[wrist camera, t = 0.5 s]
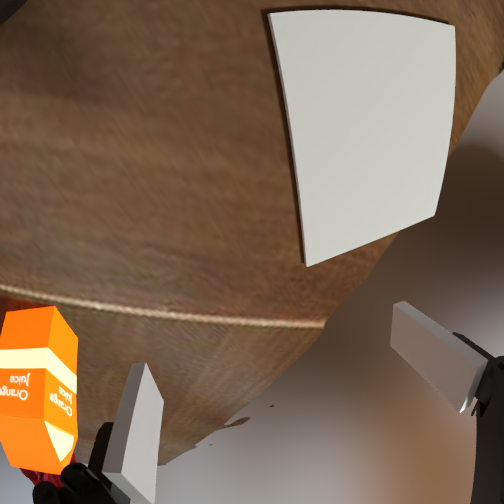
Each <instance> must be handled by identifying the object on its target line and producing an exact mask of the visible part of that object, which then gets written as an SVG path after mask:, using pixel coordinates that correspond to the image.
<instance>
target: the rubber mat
mask: <svg viewBox="0 0 504 504" xmlns="http://www.w3.org/2000/svg"><path fill="white" fill-rule="evenodd" d="M267 15H268V20H269V24H270V29H271V34H272V38H273V43H274V48H275V53H276V58H277V63H278V69H279V74H280V80H281V85H282V91H283V97H284V102H285V108H286V115H287V121H288V127H289V134H290V141H291V147H292V155H293V162H294V169H295V177H296V185H297V193H298V201H299V210H300V219H301V229H302V239H303V249H304V260H305V265H306V267H308V266H311V265H313V264H316V263H319V262H321V261H324V260H326V259H329V258H332V257H334V256H337V255H339V254H342V253H344V252H347V251H349V250H352V249H355V248H357V247H360V246H362V245H365V244H367V243H370V242H372V241H374V240H377V239H379V238H382V237H384V236H387V235H389V234H392V233H394V232H396V231H399V230H401V229H404V228H406V227H408V226H411V225H413V224H415V223H418V222H420V221H422V220H425V219H427V218H429V217H432V216H434V214H435V211H436V207H437V203H438V199H439V194H440V190H441V186H442V180H443V176H444V171H445V166H446V161H447V155H448V149H449V142H450V135H451V127H452V118H453V108H454V95H455V73H456V49H455V27H454V26H451V25H447V24H443V23H439V22H435V21H430V20H426V19H421V18H415V17H410V16H403V15H397V14H389V13H380V12H369V11H353V10H306V11H290V12H279V13H270V14H267Z"/></svg>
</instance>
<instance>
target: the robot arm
mask: <svg viewBox="0 0 504 504" xmlns="http://www.w3.org/2000/svg"><path fill="white" fill-rule="evenodd" d="M26 1H27V0H0V25H1V24H2V23H3V22H5V21H6V20H7V19H8V18H9V17H10V16H11V15H13V14H14V13H15V12H16V11H17V10H18V9H19V8H20V7H21V6H22V5H23V4H24V3H25V2H26ZM390 346H391V347H392V348H393V349H395V350H396V351H397V352H398V353H399V354H400V355H401V356H402V357H403V358H404V359H405V360H406V361H407V362H408V363H409V364H410V365H411V366H412V367H413V368H414V369H415V370H416V371H417V372H419V374H420V375H421V376H422V377H424V378H425V379H426V380H427V381H428V382H429V383H430V384H431V385H432V386H433V387H434V388H435V389H436V390H437V391H438V392H439V393H440V394H441V395H442V396H443V397H444V398H445V399H446V400H447V401H448V402H449V403H450V404H451V405H452V406H453V407H454V408H455V409H456V410H457V411H458V412H459V413H460V412H462V411H463V410H465V409H466V408H467V407H469V406H470V405H471V402H472V400H473V398H474V396H475V397H476V398H477V399H478V400H477V403H476V405H475V407H474V409H473V411H472V414H471V416H473V415H474V413H475V411H476V417H477V439H476V440H477V441H476V461H475V473H474V482H473V490H472V496H471V503H470V504H504V356H499V357H497V358H494V357H493V356H491V355H490V354H489V353H488V352H486V351H485V350H483V349H482V348H481V347H479V346H478V345H475V343H474V342H472V341H470V340H469V339H468V338H466V337H465V336H464V335H461V334H458V333H455V332H454V333H450V332H449V331H447V330H446V329H445V328H443V327H442V326H440V325H439V324H437V323H436V322H434V321H433V320H432V319H430V318H429V317H427V316H426V315H424V314H423V313H421V312H420V311H418V310H417V309H415V308H414V307H413V306H411V305H410V304H408V303H407V302H405V301H402V302H399V303H397V304H394V305H393V320H392V331H391V341H390ZM163 403H164V401H163V399H162V397H161V395H160V393H159V391H158V388H157V386H156V384H155V382H154V380H153V377H152V375H151V373H150V371H149V368H148V366H147V364H146V362H145V363H136V364H132V366H131V369H130V372H129V375H128V378H127V381H126V384H125V387H124V391H123V394H122V397H121V401H120V404H119V407H118V411H117V414H116V418H115V421H114V422H105V423H104V424H103V425H102V426H101V428H100V429H99V430H98V433H97V436H96V441H95V443H94V446H93V447H94V448H93V450H92V453H91V457H90V460H89V464H88V468H87V467H86V466H85V465H84V464H82V463H71V464H68V465H67V466H65V467H64V468H63V470H62V471H61V474H60V480H61V483H62V484H63V485H64V487H56V486H55V485H54V484H53V483H52V482H49V481H41V482H39V483H37V484H36V485H35V487H34V489H33V494H32V495H33V503H34V504H130V499H131V500H132V501H133V502H134V503H135V504H155V486H156V472H157V459H158V448H159V438H160V428H161V419H162V411H163Z"/></svg>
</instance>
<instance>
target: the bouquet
mask: <svg viewBox="0 0 504 504" xmlns="http://www.w3.org/2000/svg"><path fill="white" fill-rule="evenodd" d="M71 463H77V461H76V457H75V454H74V450H73V453H72V457H71V460H70V463H69V464H71ZM20 469H21V471H22V473H23V474H24V475H25V476H26V477H28V478H29V479H30V480H31V481H32V482H33V484H34V485H36V484H37V483H39V482H41V481H49V482H52V483H53V484H54V485H55V486H56V487H64V485H63V484H62V483H61V480H60V475H58V474H51V473H45V472H39V471H33V470H28V469H24V468H20Z"/></svg>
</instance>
